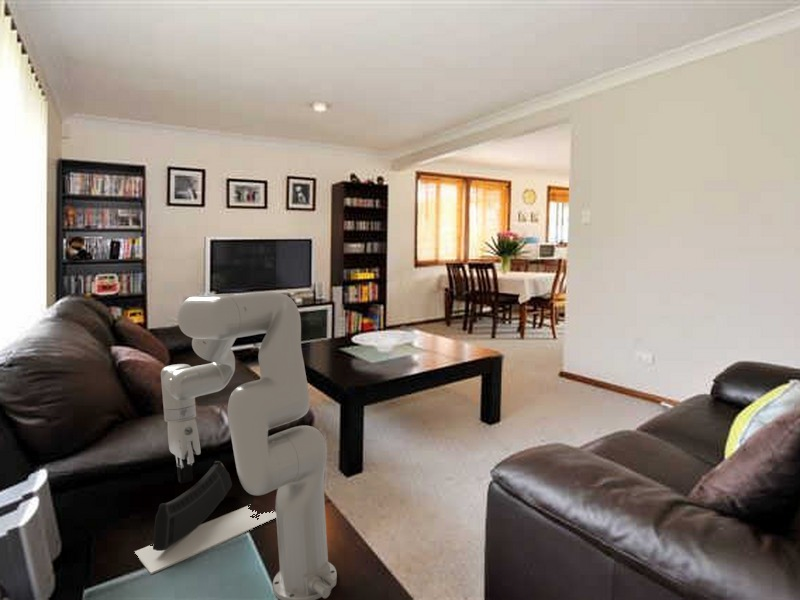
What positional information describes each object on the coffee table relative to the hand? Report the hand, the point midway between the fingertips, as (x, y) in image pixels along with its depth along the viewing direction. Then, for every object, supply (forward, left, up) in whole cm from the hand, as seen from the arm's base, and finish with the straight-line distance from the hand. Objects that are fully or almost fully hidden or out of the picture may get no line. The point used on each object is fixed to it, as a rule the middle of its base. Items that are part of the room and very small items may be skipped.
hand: (185, 480), depth 128 cm
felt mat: (-14, 0, -9) cm, 17 cm away
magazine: (-6, 0, -9) cm, 11 cm away
